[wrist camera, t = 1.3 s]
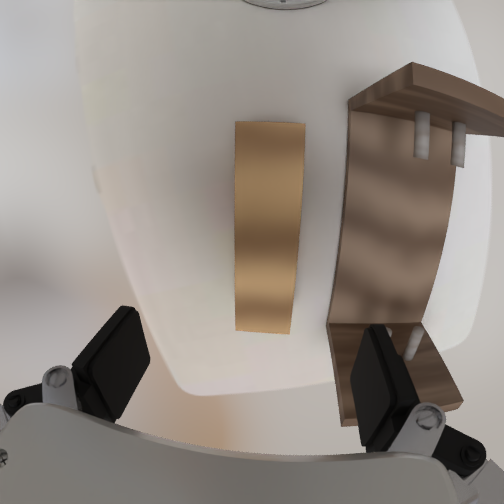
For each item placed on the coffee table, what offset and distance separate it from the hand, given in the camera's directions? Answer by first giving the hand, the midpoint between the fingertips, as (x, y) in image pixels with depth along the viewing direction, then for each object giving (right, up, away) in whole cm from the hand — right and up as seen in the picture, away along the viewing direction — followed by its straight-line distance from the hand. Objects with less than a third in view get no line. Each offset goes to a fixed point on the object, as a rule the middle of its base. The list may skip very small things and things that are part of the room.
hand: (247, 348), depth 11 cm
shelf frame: (+15, +6, +15) cm, 22 cm away
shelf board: (+2, +7, +17) cm, 18 cm away
